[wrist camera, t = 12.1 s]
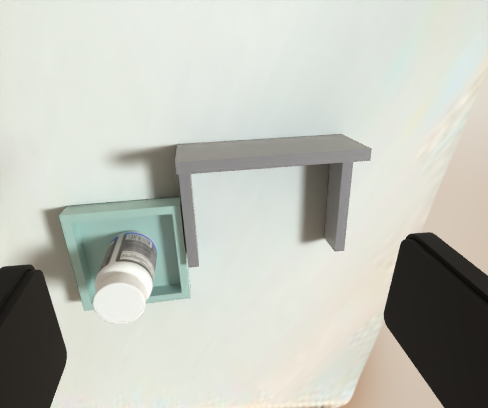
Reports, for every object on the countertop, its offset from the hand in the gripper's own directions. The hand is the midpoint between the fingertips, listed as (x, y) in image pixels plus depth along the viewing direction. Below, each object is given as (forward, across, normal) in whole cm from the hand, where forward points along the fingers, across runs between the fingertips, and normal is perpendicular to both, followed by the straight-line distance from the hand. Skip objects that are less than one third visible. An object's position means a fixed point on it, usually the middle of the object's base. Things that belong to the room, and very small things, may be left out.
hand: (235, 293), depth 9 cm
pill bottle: (+24, +7, +13) cm, 28 cm away
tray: (+24, +7, +13) cm, 28 cm away
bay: (+24, -6, +8) cm, 26 cm away
